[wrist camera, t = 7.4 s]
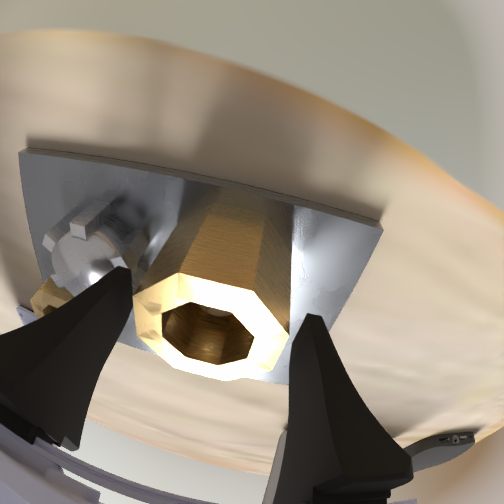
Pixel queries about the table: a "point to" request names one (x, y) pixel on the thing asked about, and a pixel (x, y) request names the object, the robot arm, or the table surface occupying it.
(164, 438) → the table surface
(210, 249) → the brass octagonal sleeve
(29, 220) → the plate
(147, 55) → the table surface
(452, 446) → the media streaming box
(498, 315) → the table surface
